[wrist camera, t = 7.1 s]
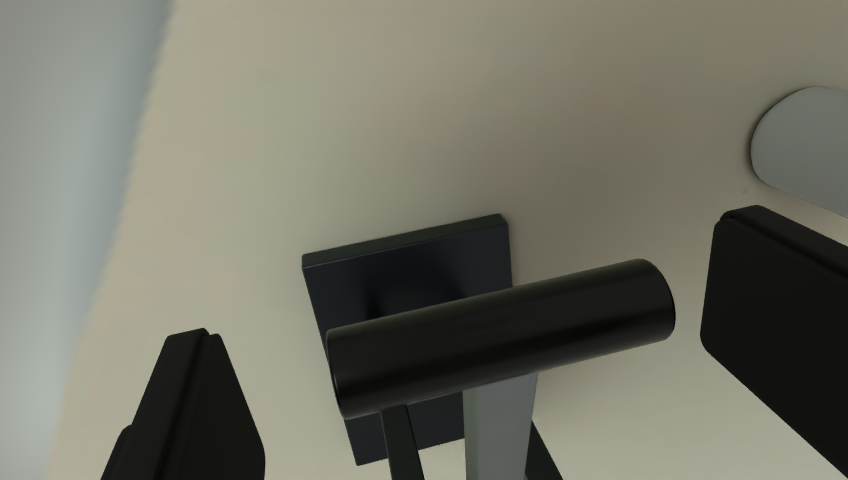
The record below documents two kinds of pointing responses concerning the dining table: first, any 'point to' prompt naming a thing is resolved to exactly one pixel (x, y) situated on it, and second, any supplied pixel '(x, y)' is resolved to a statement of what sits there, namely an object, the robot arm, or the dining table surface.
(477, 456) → the lever
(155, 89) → the dining table surface
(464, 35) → the dining table surface
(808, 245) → the robot arm
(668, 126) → the dining table surface
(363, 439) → the bracket
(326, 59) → the dining table surface
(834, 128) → the beverage can
